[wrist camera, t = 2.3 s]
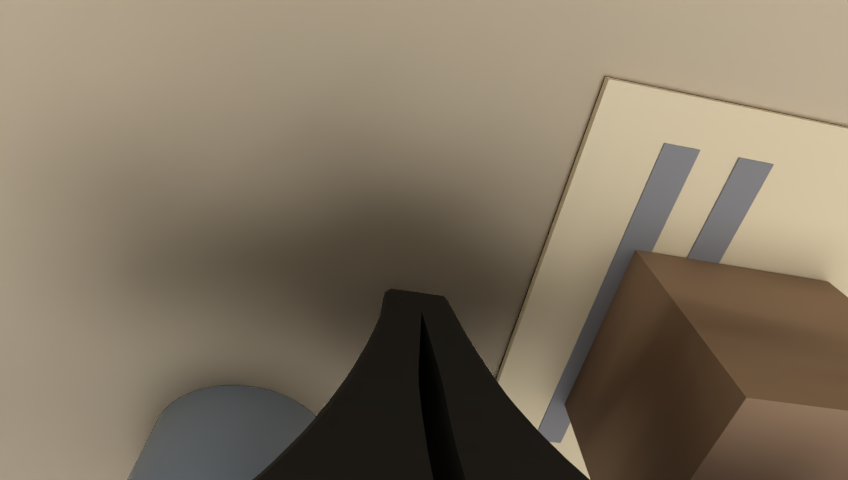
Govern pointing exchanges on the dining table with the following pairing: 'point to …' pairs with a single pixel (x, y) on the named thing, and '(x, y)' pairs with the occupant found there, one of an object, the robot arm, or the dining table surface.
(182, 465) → the slate cylinder
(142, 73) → the dining table surface
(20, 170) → the dining table surface
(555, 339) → the letter
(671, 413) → the walnut block
